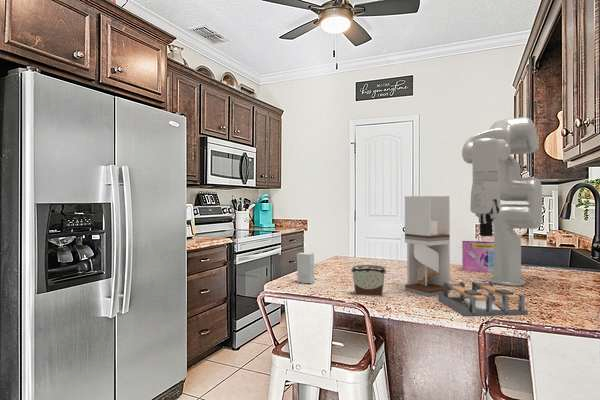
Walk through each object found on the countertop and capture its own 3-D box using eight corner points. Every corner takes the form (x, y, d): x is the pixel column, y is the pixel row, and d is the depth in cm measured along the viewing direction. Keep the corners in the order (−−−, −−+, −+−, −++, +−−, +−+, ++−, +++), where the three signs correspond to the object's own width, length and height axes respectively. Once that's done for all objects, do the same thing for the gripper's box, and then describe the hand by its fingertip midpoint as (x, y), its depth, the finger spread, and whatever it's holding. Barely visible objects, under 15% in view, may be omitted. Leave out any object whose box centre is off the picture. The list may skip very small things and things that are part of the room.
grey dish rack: (437, 299, 130) (437, 282, 130) (492, 298, 132) (492, 281, 132) (465, 316, 112) (464, 296, 112) (527, 314, 114) (527, 294, 114)
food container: (386, 292, 141) (386, 265, 141) (386, 296, 135) (386, 267, 135) (352, 290, 144) (352, 264, 144) (351, 294, 138) (350, 266, 138)
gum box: (517, 271, 182) (517, 242, 182) (520, 274, 174) (520, 244, 174) (462, 268, 190) (461, 240, 190) (463, 271, 182) (463, 242, 182)
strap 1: (446, 289, 131) (446, 283, 131) (458, 289, 131) (458, 282, 131) (474, 303, 113) (474, 295, 113) (489, 302, 113) (488, 295, 113)
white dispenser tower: (405, 290, 145) (404, 196, 144) (425, 286, 150) (424, 196, 150) (429, 296, 135) (429, 196, 135) (449, 292, 140) (449, 196, 140)
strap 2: (474, 288, 132) (474, 282, 132) (487, 288, 132) (487, 282, 132) (507, 302, 114) (507, 294, 114) (521, 302, 114) (521, 294, 114)
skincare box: (315, 282, 159) (314, 252, 158) (310, 284, 155) (310, 254, 154) (301, 281, 161) (301, 252, 161) (296, 283, 157) (296, 253, 157)
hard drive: (463, 298, 129) (472, 308, 117) (490, 299, 127) (501, 309, 115) (464, 303, 129) (472, 313, 117) (490, 304, 127) (501, 314, 115)
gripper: (462, 178, 129) (463, 233, 130) (487, 177, 115) (487, 239, 115) (484, 178, 130) (484, 232, 131) (511, 177, 115) (512, 238, 116)
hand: (486, 235), depth 123 cm, fingers closed
